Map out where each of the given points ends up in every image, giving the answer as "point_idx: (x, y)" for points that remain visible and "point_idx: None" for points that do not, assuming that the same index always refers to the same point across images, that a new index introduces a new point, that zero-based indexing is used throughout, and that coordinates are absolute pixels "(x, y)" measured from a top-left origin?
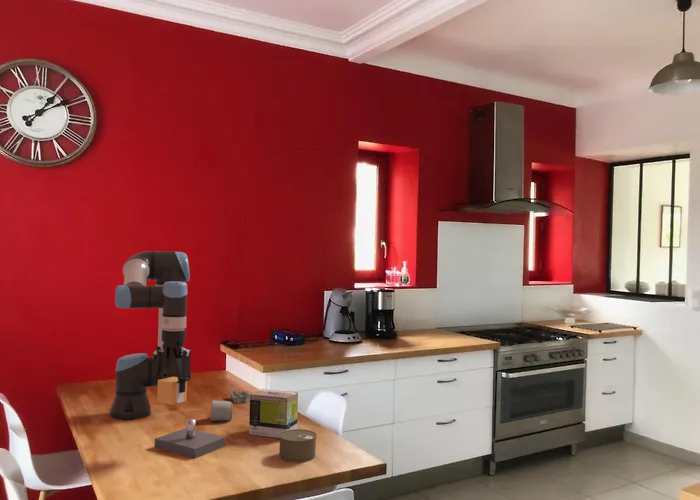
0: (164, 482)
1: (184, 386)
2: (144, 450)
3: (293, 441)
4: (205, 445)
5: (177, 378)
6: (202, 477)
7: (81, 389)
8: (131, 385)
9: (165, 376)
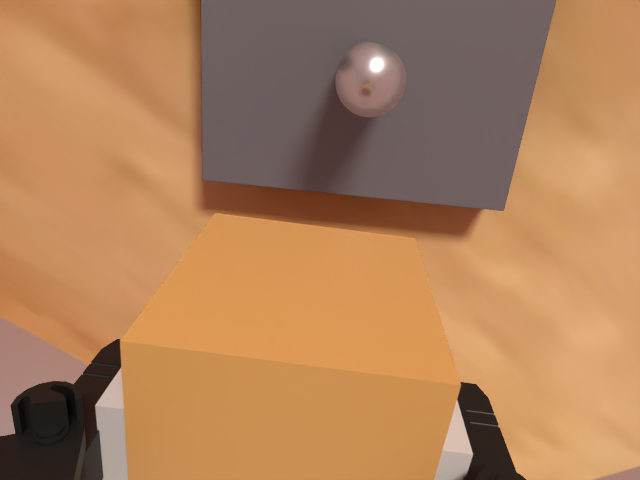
0: (518, 424)
1: (498, 446)
2: (204, 216)
3: None
4: (521, 133)
5: (282, 408)
6: (634, 345)
7: None
8: None
9: (82, 460)
